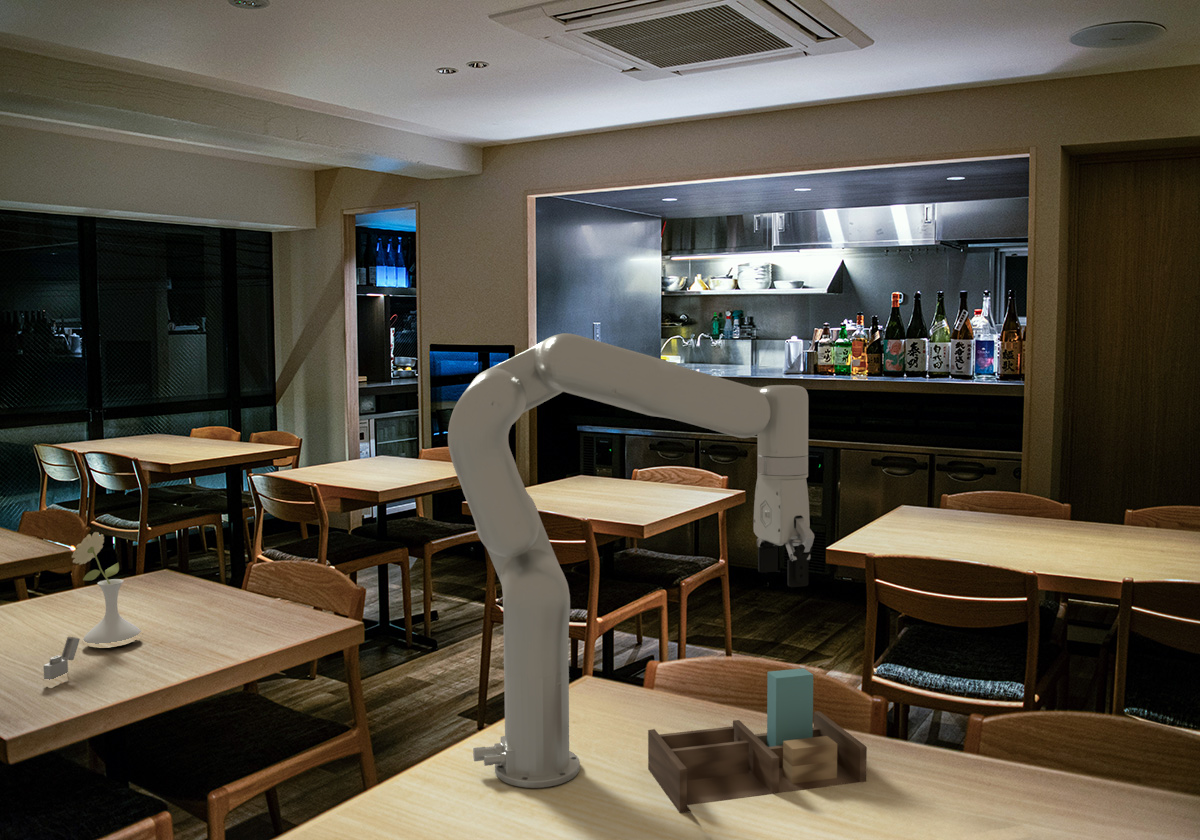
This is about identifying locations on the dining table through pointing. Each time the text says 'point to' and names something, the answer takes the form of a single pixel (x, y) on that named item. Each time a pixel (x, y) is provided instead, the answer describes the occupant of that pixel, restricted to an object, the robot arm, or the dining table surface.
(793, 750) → the offcut upper
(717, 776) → the rack
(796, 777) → the offcut lower
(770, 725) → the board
